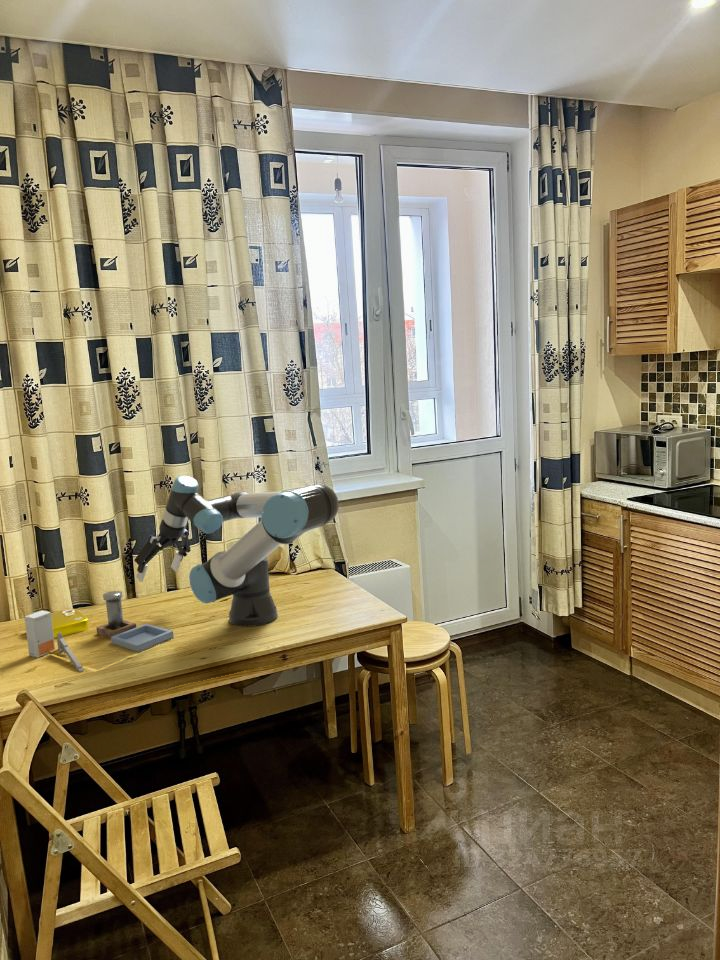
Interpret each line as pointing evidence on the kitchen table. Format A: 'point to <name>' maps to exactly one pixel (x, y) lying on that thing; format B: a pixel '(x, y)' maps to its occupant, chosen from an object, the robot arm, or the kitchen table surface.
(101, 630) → the socket block
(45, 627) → the skincare box
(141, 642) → the tray
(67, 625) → the element tile
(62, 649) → the caliper
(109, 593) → the blue-grey cylinder
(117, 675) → the kitchen table surface
